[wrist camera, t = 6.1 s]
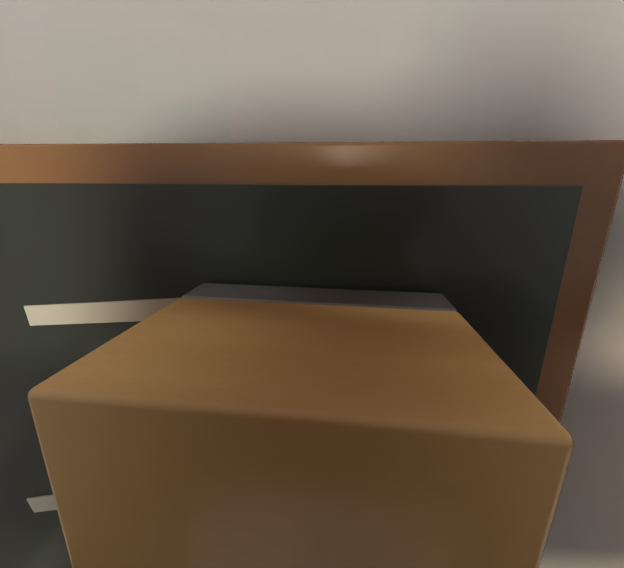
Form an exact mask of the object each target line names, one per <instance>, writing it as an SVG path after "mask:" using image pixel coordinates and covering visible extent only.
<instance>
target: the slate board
mask: <svg viewBox="0 0 624 568" xmlns="http://www.w3.org/2000/svg"><path fill="white" fill-rule="evenodd" d="M623 175H624V140H579V141H430V142H281V143H132V144H0V568H72V564H71V561H70V557H69V553H68V549H67V545H66V542H65V538H64V534H63V530H62V527H61V523H60V519H59V515H58V511H57V508H56V504H55V500H54V496H53V492H52V489H51V485H50V481H49V477H48V473H47V470H46V466H45V462H44V458H43V454H42V451H41V447H40V443H39V439H38V435H37V432H36V428H35V424H34V420H33V416H32V413H31V409H30V405H29V401H28V392H29V391H30V390H31V389H32V388H33V387H35V386H36V385H38V384H39V383H41V382H43V381H44V380H46V379H48V378H49V377H51V376H53V375H54V374H56V373H57V372H59V371H61V370H62V369H64V368H66V367H67V366H69V365H71V364H72V363H74V362H75V361H77V360H79V359H80V358H82V357H84V356H85V355H87V354H89V353H90V352H92V351H93V350H95V349H97V348H98V347H100V346H102V345H103V344H105V343H107V342H108V341H110V340H111V339H113V338H115V337H116V336H118V335H120V334H121V333H123V332H125V331H126V330H128V329H129V328H131V327H133V326H134V325H136V324H138V323H139V322H141V321H143V320H144V319H146V318H147V317H149V316H151V315H152V314H154V313H156V312H157V311H159V310H161V309H162V308H164V307H165V306H167V305H169V304H170V303H172V302H174V301H175V300H177V299H179V298H181V297H182V296H183V295H184V294H186V293H188V292H189V291H191V290H193V289H194V288H196V287H198V286H199V285H201V284H203V283H219V284H241V285H263V286H285V287H308V288H330V289H352V290H374V291H397V292H419V293H440V294H443V295H444V297H445V298H446V299H447V300H448V301H449V302H450V303H451V304H452V305H453V306H454V307H455V308H456V310H457V312H458V313H460V315H461V316H462V317H463V318H464V319H465V320H466V321H467V322H468V323H469V324H470V325H471V327H472V328H473V329H474V330H475V331H476V332H477V333H478V334H479V335H480V336H481V338H482V339H483V340H484V341H485V342H486V343H487V344H488V345H489V346H490V347H491V348H492V350H493V351H494V352H495V353H496V354H497V355H498V356H499V357H500V358H501V359H502V360H503V362H504V363H505V364H506V365H507V366H508V367H509V368H510V369H511V370H512V371H513V372H514V374H515V375H516V376H517V377H518V378H519V379H520V380H521V381H522V382H523V383H524V384H525V386H526V387H527V388H528V389H529V390H530V391H531V392H532V393H533V394H534V395H535V397H536V398H537V399H538V400H539V401H540V402H541V403H542V404H543V405H544V406H545V407H546V409H547V410H548V411H549V412H550V413H551V414H552V415H553V416H554V417H555V418H556V419H557V421H558V422H559V423H560V421H561V417H562V413H563V409H564V405H565V401H566V397H567V393H568V389H569V385H570V382H571V378H572V374H573V370H574V366H575V362H576V358H577V354H578V350H579V346H580V343H581V339H582V335H583V331H584V327H585V323H586V319H587V315H588V311H589V307H590V303H591V300H592V296H593V292H594V288H595V284H596V280H597V276H598V272H599V268H600V264H601V261H602V257H603V253H604V249H605V245H606V241H607V237H608V233H609V229H610V225H611V221H612V218H613V214H614V210H615V206H616V202H617V198H618V194H619V190H620V186H621V182H622V179H623Z"/></svg>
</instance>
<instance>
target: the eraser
mask: <svg viewBox="0 0 624 568" xmlns="http://www.w3.org/2000/svg"><path fill="white" fill-rule="evenodd" d="M28 401H29V405H30V409H31V413H32V416H33V420H34V424H35V428H36V432H37V435H38V439H39V443H40V447H41V451H42V454H43V458H44V462H45V466H46V470H47V473H48V477H49V481H50V485H51V489H52V492H53V496H54V500H55V504H56V508H57V511H58V515H59V519H60V523H61V527H62V530H63V534H64V538H65V542H66V545H67V549H68V553H69V557H70V561H71V564H72V568H539V565H540V562H541V558H542V555H543V551H544V548H545V544H546V541H547V537H548V533H549V530H550V526H551V523H552V519H553V516H554V512H555V509H556V505H557V502H558V498H559V495H560V491H561V488H562V484H563V481H564V477H565V474H566V470H567V467H568V463H569V460H570V456H571V453H572V449H573V441H572V438H571V435H570V434H569V433H568V431H567V430H566V429H565V428H564V427H563V426H562V425H561V424H560V423H559V422H558V421H557V419H556V418H555V417H554V416H553V415H552V414H551V413H550V412H549V411H548V410H547V409H546V407H545V406H544V405H543V404H542V403H541V402H540V401H539V400H538V399H537V398H536V397H535V395H534V394H533V393H532V392H531V391H530V390H529V389H528V388H527V387H526V386H525V384H524V383H523V382H522V381H521V380H520V379H519V378H518V377H517V376H516V375H515V374H514V372H513V371H512V370H511V369H510V368H509V367H508V366H507V365H506V364H505V363H504V362H503V360H502V359H501V358H500V357H499V356H498V355H497V354H496V353H495V352H494V351H493V350H492V348H491V347H490V346H489V345H488V344H487V343H486V342H485V341H484V340H483V339H482V338H481V336H480V335H479V334H478V333H477V332H476V331H475V330H474V329H473V328H472V327H471V325H470V324H469V323H468V322H467V321H466V320H465V319H464V318H463V317H462V316H461V315H460V313H458V312H457V310H456V308H455V307H454V306H453V305H452V304H451V303H450V302H449V301H448V300H447V299H446V298H445V297H444V295H443V294H440V293H419V292H397V291H374V290H352V289H330V288H308V287H285V286H263V285H241V284H219V283H203V284H201V285H199V286H198V287H196V288H194V289H193V290H191V291H189V292H188V293H186V294H184V295H183V296H182V297H181V298H179V299H177V300H175V301H174V302H172V303H170V304H169V305H167V306H165V307H164V308H162V309H161V310H159V311H157V312H156V313H154V314H152V315H151V316H149V317H147V318H146V319H144V320H143V321H141V322H139V323H138V324H136V325H134V326H133V327H131V328H129V329H128V330H126V331H125V332H123V333H121V334H120V335H118V336H116V337H115V338H113V339H111V340H110V341H108V342H107V343H105V344H103V345H102V346H100V347H98V348H97V349H95V350H93V351H92V352H90V353H89V354H87V355H85V356H84V357H82V358H80V359H79V360H77V361H75V362H74V363H72V364H71V365H69V366H67V367H66V368H64V369H62V370H61V371H59V372H57V373H56V374H54V375H53V376H51V377H49V378H48V379H46V380H44V381H43V382H41V383H39V384H38V385H36V386H35V387H33V388H32V389H31V390H30V391H29V392H28Z"/></svg>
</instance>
